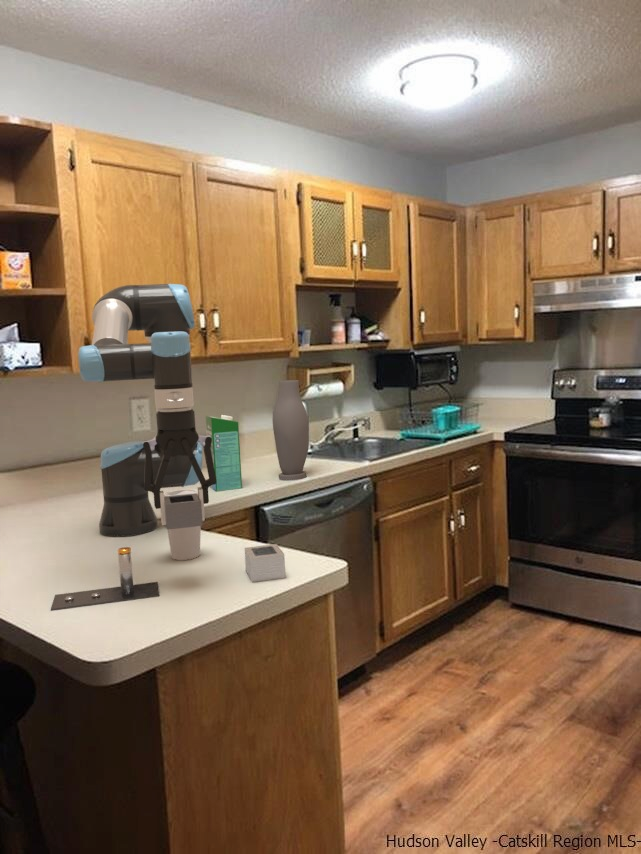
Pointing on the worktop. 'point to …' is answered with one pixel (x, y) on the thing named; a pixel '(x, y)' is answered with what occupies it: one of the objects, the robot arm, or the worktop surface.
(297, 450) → the vase
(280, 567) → the link
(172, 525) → the grey hollow block
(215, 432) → the milk carton
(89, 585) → the worktop surface
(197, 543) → the coffee cup
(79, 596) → the keeper
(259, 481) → the worktop surface
